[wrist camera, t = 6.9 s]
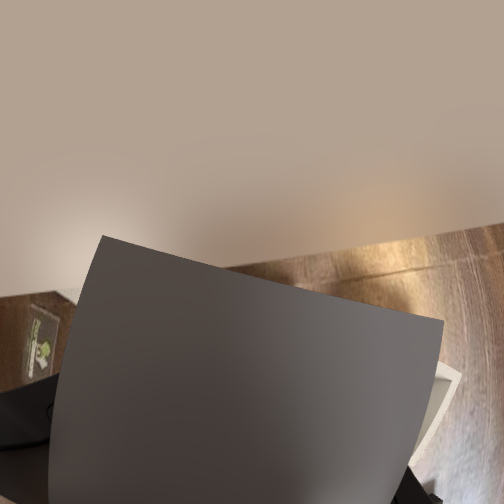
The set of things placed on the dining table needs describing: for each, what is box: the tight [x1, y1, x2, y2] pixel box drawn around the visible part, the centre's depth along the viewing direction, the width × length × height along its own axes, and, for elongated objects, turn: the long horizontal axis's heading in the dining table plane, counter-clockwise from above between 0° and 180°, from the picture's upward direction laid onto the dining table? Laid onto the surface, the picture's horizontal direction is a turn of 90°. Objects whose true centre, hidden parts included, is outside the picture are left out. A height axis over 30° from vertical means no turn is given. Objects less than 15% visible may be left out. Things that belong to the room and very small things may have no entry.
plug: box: [48, 235, 444, 504], centre depth 7 cm, size 4×4×10 cm
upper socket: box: [408, 361, 462, 467], centre depth 16 cm, size 7×7×6 cm
